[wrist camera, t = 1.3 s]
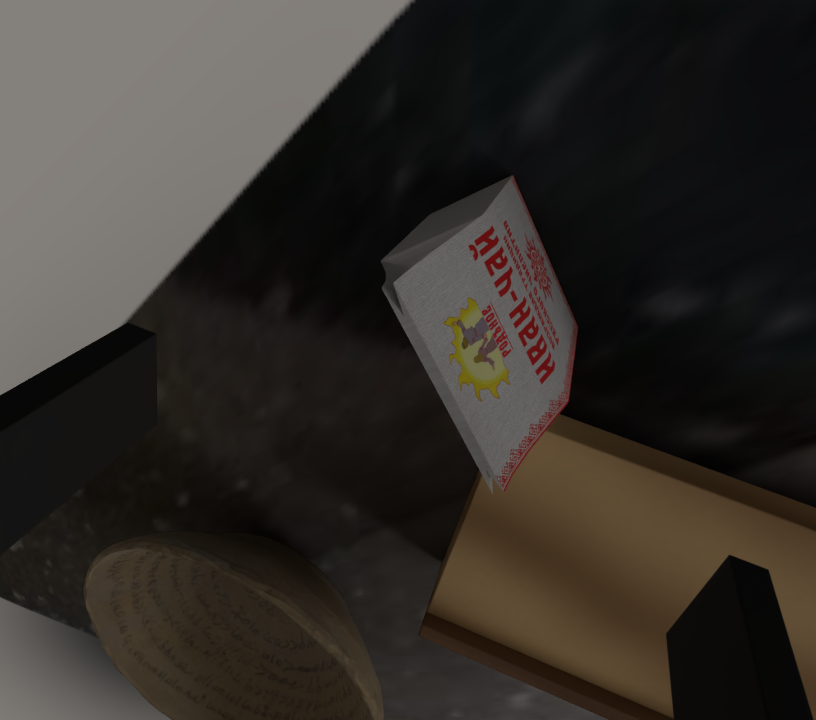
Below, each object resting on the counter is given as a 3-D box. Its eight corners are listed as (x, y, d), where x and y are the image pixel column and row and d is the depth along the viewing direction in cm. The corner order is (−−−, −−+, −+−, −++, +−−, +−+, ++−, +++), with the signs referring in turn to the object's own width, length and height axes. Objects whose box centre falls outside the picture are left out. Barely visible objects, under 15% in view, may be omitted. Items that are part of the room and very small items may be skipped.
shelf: (519, 366, 26) (502, 427, 22) (1005, 540, 23) (1088, 647, 19) (441, 563, 33) (417, 636, 29) (798, 713, 30) (827, 816, 26)
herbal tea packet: (497, 353, 26) (440, 505, 17) (429, 214, 23) (328, 310, 15) (578, 326, 24) (558, 481, 16) (512, 174, 22) (449, 259, 13)
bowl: (170, 598, 44) (91, 698, 37) (161, 411, 34) (51, 501, 27) (396, 697, 41) (354, 825, 34) (457, 523, 31) (414, 654, 25)
